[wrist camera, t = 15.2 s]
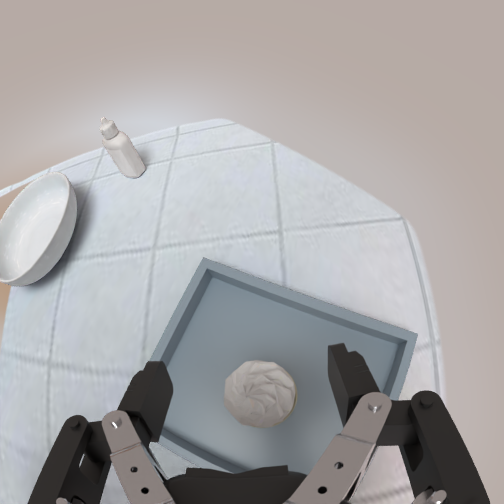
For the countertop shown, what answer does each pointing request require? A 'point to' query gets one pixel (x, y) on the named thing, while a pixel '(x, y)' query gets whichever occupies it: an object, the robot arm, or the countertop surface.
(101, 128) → the eye dropper bottle
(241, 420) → the ice cream cone
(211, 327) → the slate blue tray
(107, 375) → the countertop surface
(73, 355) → the countertop surface
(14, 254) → the serving bowl
